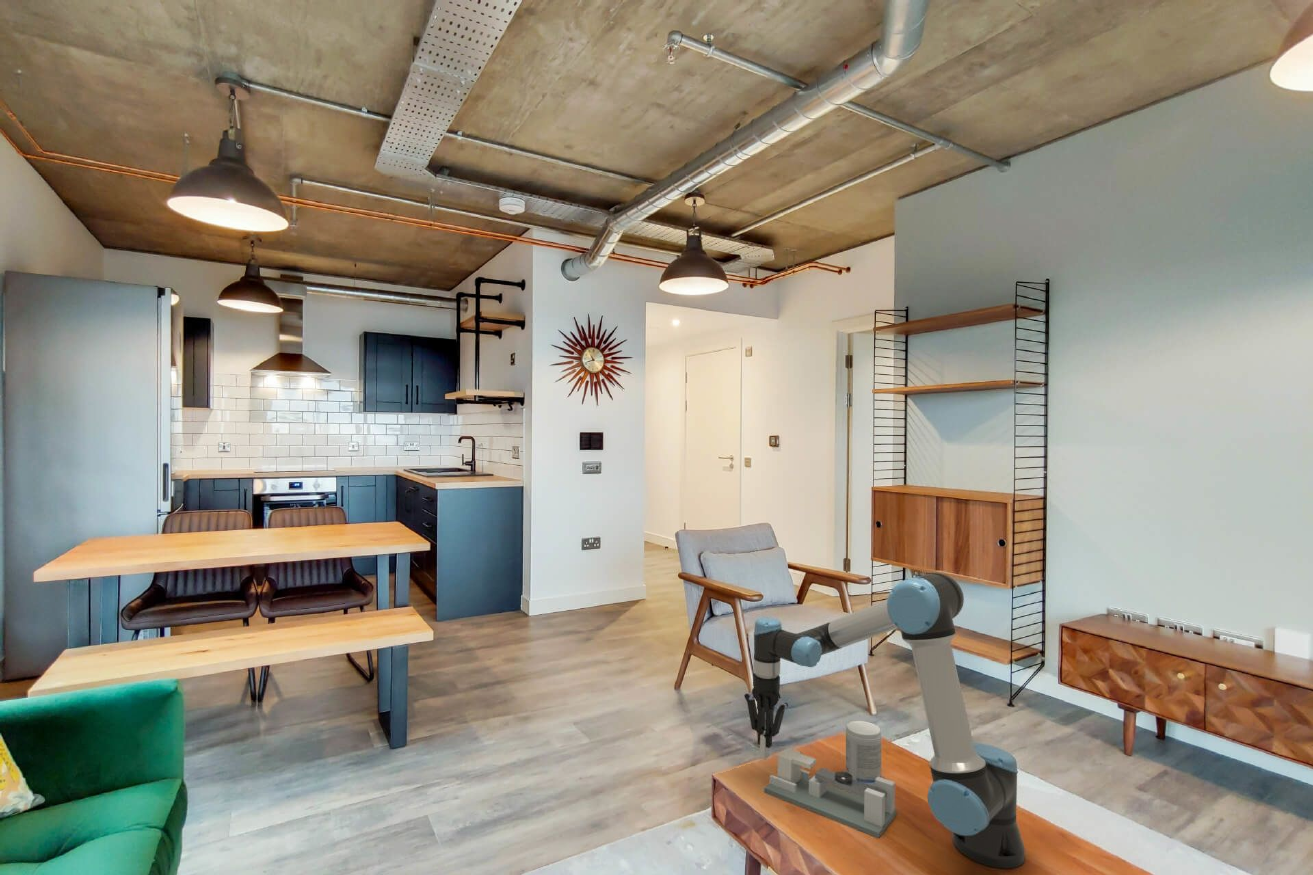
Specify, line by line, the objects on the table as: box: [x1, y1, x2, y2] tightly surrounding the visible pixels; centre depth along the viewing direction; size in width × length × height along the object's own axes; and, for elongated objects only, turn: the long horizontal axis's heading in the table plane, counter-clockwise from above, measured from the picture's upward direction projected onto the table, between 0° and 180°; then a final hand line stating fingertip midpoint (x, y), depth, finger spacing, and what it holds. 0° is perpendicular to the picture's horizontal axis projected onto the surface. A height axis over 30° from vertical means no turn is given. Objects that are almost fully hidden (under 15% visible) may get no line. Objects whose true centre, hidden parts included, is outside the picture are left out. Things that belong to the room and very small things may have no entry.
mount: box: [763, 768, 898, 839], centre depth 169 cm, size 31×13×8 cm, turn 51°
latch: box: [776, 747, 817, 784], centre depth 175 cm, size 9×6×8 cm, turn 51°
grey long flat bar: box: [814, 767, 887, 798], centre depth 166 cm, size 18×4×2 cm, turn 51°
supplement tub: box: [845, 720, 882, 787], centre depth 181 cm, size 10×10×15 cm
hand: (764, 757), depth 182 cm, fingers closed
